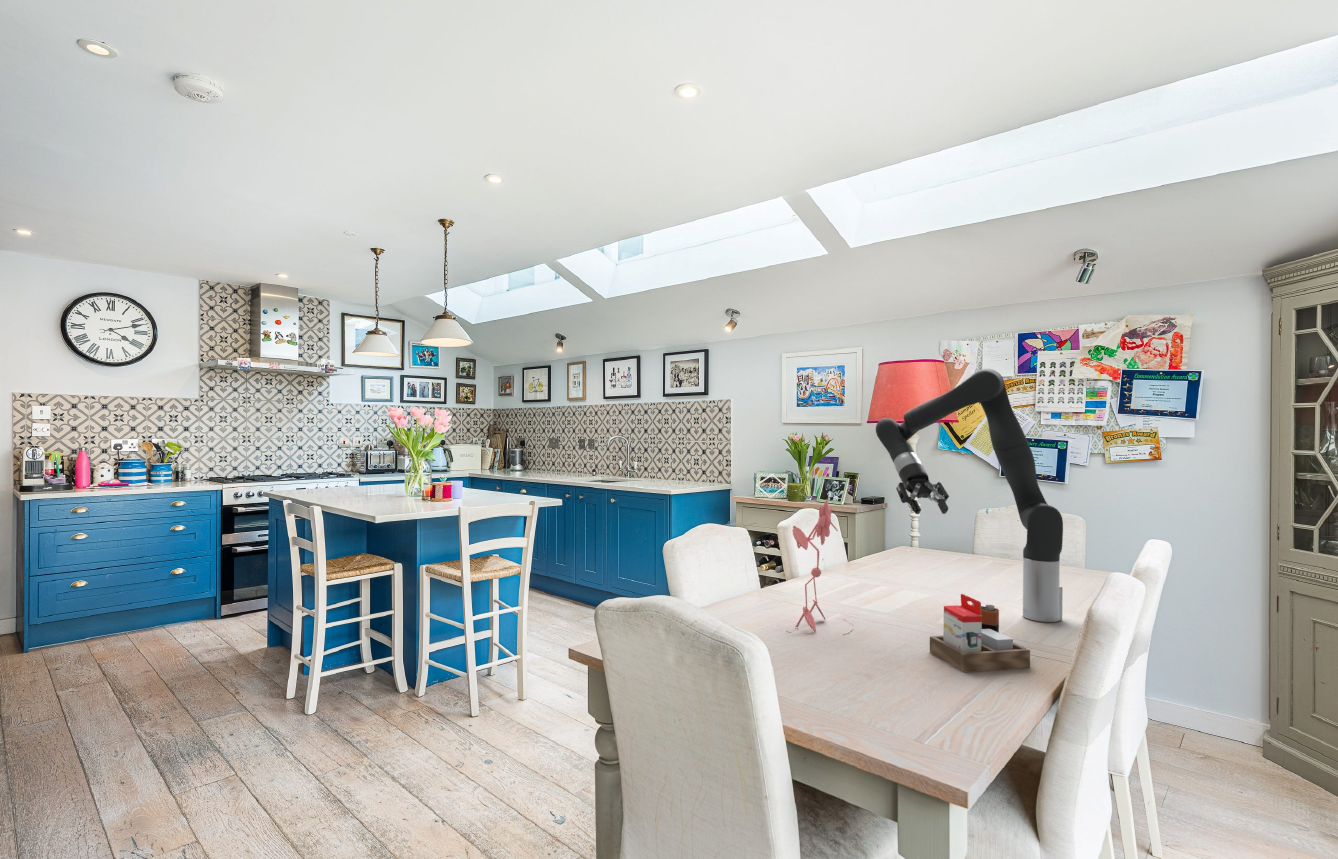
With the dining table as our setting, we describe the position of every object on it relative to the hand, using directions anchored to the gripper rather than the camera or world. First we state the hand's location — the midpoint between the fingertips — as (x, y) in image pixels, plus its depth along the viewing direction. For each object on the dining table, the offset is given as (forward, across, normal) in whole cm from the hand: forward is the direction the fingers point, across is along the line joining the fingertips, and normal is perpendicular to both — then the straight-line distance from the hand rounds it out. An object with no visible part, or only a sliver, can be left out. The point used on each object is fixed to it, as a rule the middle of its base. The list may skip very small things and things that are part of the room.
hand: (932, 512), depth 187 cm
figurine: (+24, -34, +20) cm, 46 cm away
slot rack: (+45, -9, -1) cm, 46 cm away
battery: (+38, 0, +6) cm, 38 cm away
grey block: (+45, -5, -1) cm, 45 cm away
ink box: (+44, -13, -1) cm, 46 cm away
